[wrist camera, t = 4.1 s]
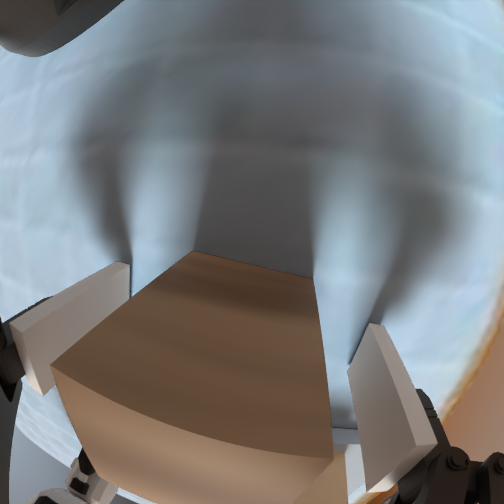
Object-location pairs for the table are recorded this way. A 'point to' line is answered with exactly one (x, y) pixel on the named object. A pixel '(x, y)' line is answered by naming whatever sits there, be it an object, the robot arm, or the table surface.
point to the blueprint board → (351, 457)
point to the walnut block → (205, 387)
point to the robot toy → (79, 486)
